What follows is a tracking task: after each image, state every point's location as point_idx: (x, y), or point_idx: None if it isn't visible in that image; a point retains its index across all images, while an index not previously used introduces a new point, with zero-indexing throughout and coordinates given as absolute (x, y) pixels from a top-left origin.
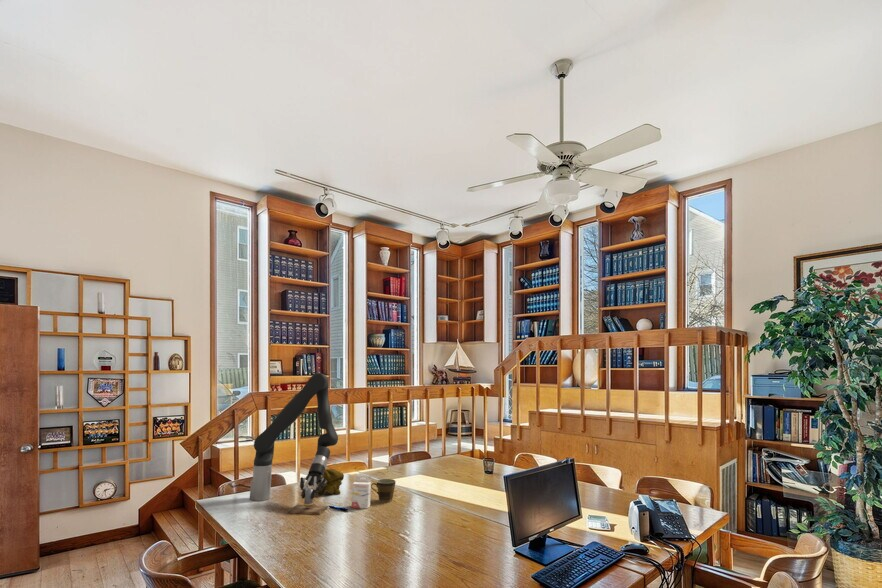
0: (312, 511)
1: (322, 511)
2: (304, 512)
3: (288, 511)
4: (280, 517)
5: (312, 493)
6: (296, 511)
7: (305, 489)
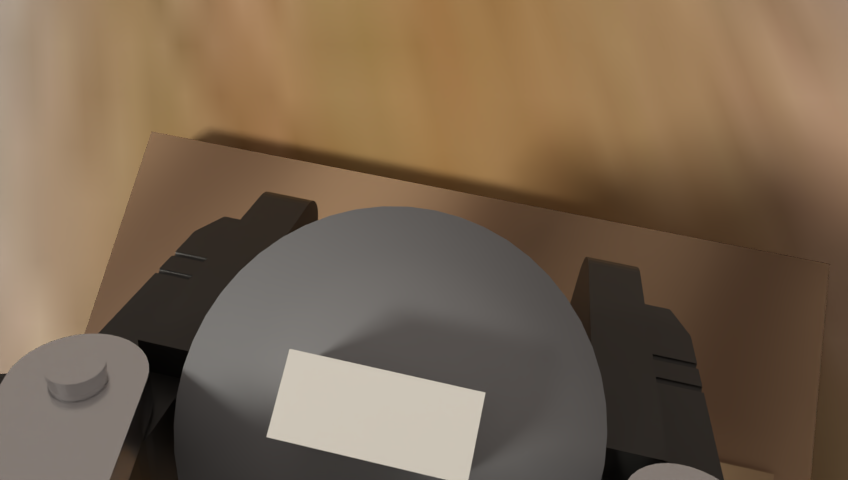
0: (299, 181)
1: (120, 263)
2: (459, 199)
3: (806, 267)
4: (838, 26)
5: (237, 249)
6: (630, 228)
7: (572, 361)
